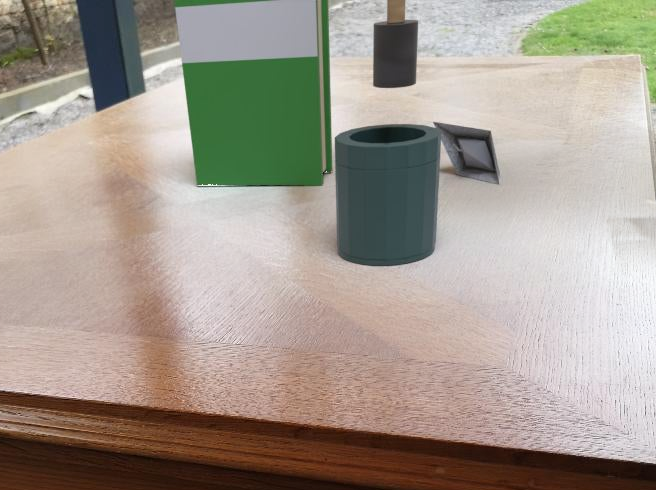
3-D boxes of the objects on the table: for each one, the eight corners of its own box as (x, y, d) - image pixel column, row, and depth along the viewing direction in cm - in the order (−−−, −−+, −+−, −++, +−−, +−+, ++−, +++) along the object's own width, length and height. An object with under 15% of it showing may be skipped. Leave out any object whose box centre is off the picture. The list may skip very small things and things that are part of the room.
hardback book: (332, 171, 110) (327, -37, 95) (321, 185, 104) (314, -34, 90) (213, 173, 114) (191, -26, 100) (197, 186, 108) (171, -23, 94)
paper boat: (531, 162, 101) (511, 158, 94) (497, 204, 105) (475, 203, 98) (465, 103, 103) (440, 95, 96) (433, 147, 107) (408, 142, 100)
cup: (423, 230, 86) (427, 120, 79) (444, 260, 77) (451, 140, 71) (332, 238, 85) (329, 129, 79) (344, 269, 77) (342, 150, 71)
